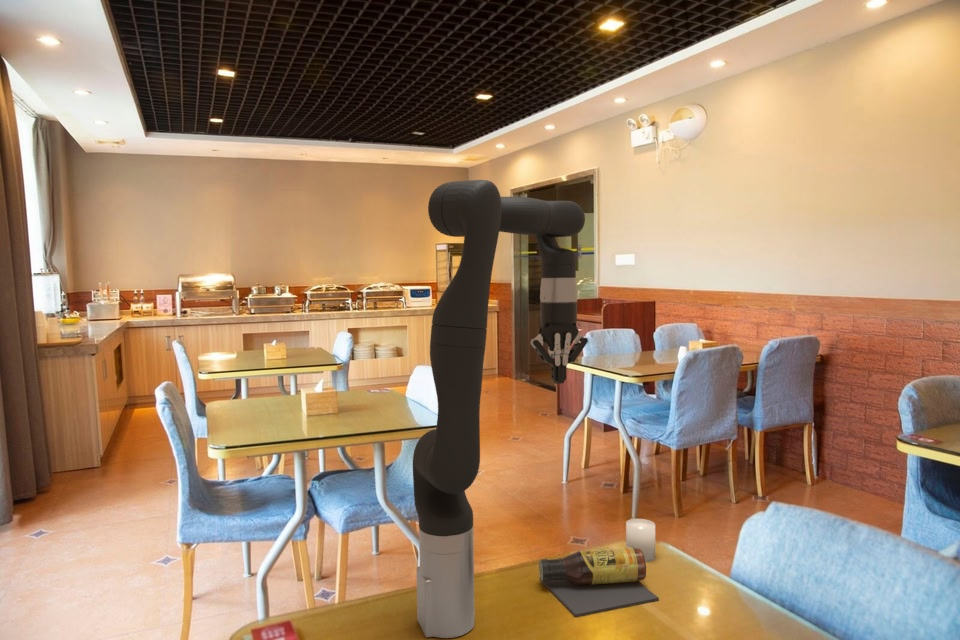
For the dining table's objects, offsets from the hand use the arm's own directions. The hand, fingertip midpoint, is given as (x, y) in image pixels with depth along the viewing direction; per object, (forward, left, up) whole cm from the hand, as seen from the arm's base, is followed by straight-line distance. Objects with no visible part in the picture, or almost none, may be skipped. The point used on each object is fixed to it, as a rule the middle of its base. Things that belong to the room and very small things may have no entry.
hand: (558, 383), depth 136 cm
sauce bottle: (+10, -16, -33) cm, 38 cm away
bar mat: (0, -16, -37) cm, 40 cm away
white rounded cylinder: (+16, -6, -37) cm, 41 cm away
